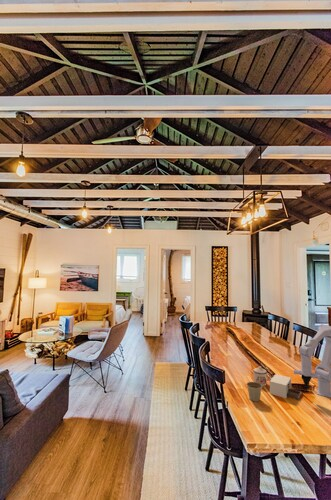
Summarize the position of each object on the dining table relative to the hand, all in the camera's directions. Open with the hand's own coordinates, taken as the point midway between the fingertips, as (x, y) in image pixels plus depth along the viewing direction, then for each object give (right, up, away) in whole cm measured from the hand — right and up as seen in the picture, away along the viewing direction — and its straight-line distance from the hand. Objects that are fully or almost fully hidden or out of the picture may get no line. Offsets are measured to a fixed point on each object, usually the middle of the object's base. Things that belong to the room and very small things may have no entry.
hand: (306, 388), depth 165 cm
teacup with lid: (-21, -8, +21) cm, 30 cm away
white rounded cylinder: (-9, -7, +9) cm, 15 cm away
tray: (-9, -8, +6) cm, 13 cm away
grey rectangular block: (-13, -7, +9) cm, 17 cm away
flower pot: (-34, -6, -2) cm, 34 cm away
